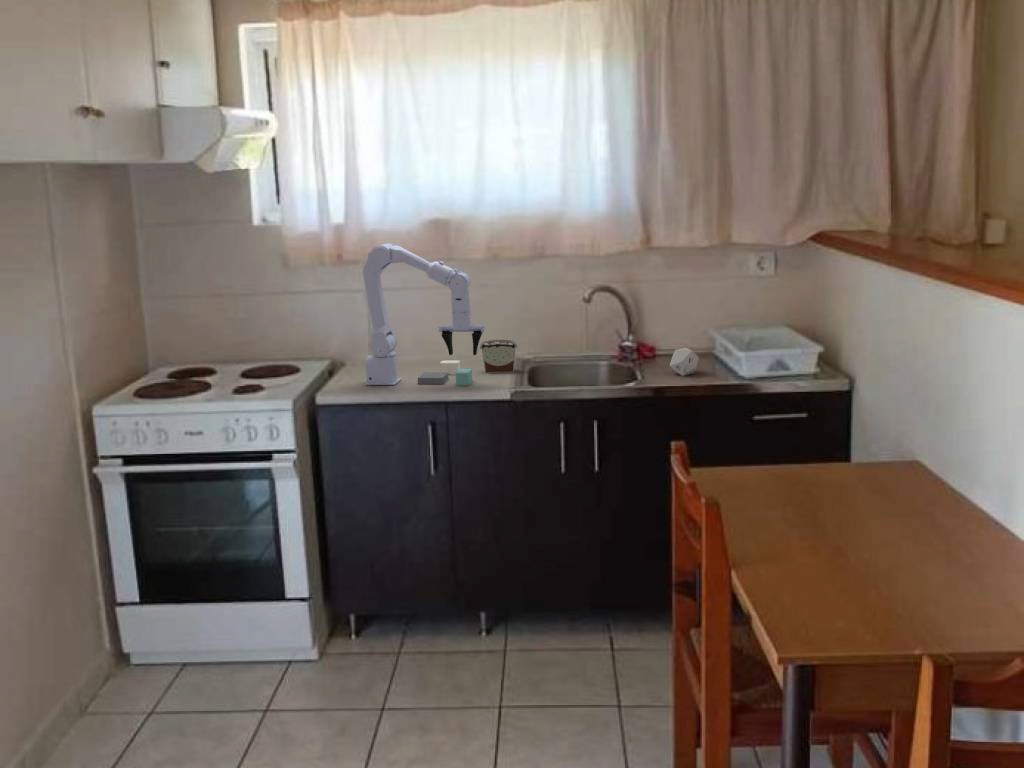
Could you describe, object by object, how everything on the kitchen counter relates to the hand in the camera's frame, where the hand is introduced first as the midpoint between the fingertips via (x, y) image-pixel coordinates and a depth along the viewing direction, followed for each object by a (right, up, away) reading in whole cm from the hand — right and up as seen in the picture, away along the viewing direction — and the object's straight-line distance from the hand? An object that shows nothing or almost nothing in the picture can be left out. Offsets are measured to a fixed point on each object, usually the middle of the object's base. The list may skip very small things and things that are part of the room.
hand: (463, 354), depth 319 cm
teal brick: (0, -9, +2) cm, 9 cm away
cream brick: (-5, -6, +17) cm, 18 cm away
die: (+70, -6, +4) cm, 71 cm away
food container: (+12, -5, +18) cm, 22 cm away
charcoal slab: (-10, -9, +6) cm, 14 cm away
